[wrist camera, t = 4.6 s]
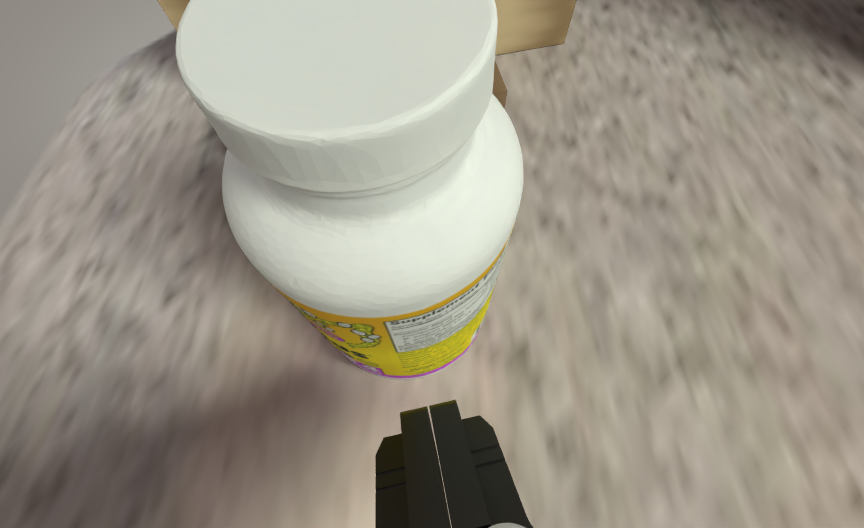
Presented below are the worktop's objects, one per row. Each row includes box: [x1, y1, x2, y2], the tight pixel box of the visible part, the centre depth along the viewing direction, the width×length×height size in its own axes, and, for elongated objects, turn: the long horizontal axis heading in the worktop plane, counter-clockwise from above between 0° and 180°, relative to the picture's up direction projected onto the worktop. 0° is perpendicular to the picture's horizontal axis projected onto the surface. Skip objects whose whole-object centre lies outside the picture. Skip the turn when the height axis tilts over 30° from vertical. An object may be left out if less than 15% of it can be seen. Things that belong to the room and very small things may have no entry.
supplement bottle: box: [175, 0, 523, 380], centre depth 12 cm, size 7×7×13 cm
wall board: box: [158, 0, 577, 108], centre depth 19 cm, size 20×6×9 cm, turn 102°
